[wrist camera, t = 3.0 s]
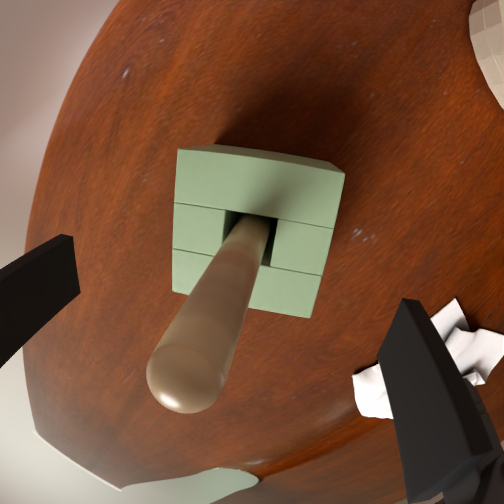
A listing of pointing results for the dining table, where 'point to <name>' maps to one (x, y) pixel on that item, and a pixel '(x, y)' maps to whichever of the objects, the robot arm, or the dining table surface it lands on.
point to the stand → (260, 203)
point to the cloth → (460, 347)
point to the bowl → (489, 42)
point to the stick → (209, 323)
